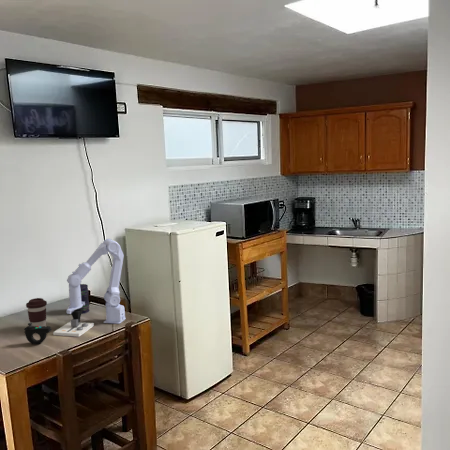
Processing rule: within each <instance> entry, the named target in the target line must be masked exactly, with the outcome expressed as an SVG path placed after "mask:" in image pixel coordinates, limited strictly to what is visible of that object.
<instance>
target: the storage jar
mask: <svg viewBox="0 0 450 450" xmlns="http://www.w3.org/2000/svg"><path fill="white" fill-rule="evenodd" d="M80 288H81V301H83V302H85V305H84V306H82V307H81V308H83V311H82V314H81V315H84V314H87V313H89V312H90V301H89V288H88V284H84V283H81V284H80Z"/></svg>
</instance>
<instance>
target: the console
mask: <svg viewBox="0 0 450 450" xmlns="http://www.w3.org/2000/svg"><path fill="white" fill-rule="evenodd" d="M78 324H79V326H78V327H71V321H68V322H67V323H65V324H63V325H62V326H60V328H57V329H56V330H54V331H53V332H52V333H53V336H61V337H63V336H64V337H75V338H76V337H79V338H80V337H81V336H82V335H83V334H85V333H86V332H87V331H89V330H90V329H91V328H93V327H94V326H95V323H94V322H81V321H80V322H79V323H78Z"/></svg>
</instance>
